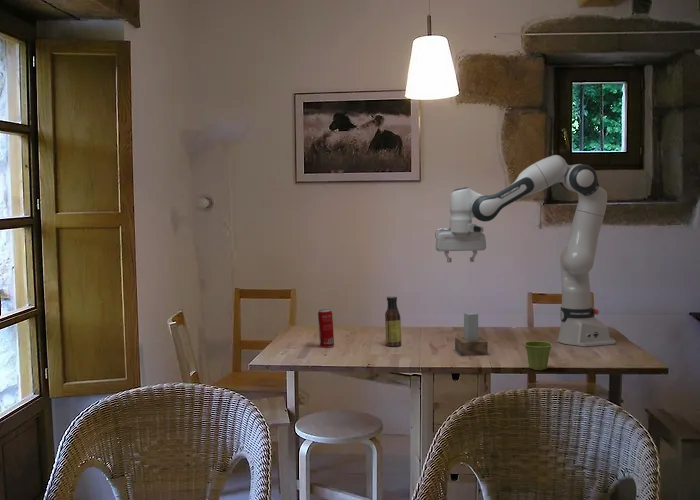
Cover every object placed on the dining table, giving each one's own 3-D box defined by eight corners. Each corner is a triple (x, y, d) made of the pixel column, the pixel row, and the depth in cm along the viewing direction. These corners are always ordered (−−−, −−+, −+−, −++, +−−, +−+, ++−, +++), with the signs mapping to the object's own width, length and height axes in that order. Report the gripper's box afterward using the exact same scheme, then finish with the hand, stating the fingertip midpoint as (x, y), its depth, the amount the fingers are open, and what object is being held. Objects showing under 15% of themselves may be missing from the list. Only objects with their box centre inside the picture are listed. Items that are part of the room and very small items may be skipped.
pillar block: (473, 338, 283) (473, 312, 282) (478, 340, 279) (478, 314, 278) (464, 338, 282) (464, 313, 281) (468, 340, 278) (468, 314, 277)
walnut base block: (480, 349, 286) (480, 336, 286) (487, 354, 276) (487, 341, 276) (455, 350, 285) (455, 337, 285) (461, 355, 275) (461, 342, 275)
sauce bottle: (404, 345, 297) (404, 296, 295) (394, 347, 292) (394, 298, 291) (392, 343, 301) (391, 295, 300) (382, 345, 297) (381, 296, 295)
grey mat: (482, 349, 287) (482, 348, 287) (490, 356, 275) (490, 355, 275) (451, 350, 286) (451, 349, 286) (459, 357, 274) (459, 356, 274)
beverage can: (336, 345, 298) (335, 309, 297) (329, 348, 292) (328, 311, 291) (323, 344, 301) (322, 308, 299) (316, 347, 295) (315, 310, 293)
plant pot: (552, 372, 251) (553, 347, 250) (524, 371, 253) (524, 346, 252) (551, 365, 260) (551, 341, 259) (523, 364, 262) (523, 340, 261)
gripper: (437, 228, 292) (437, 263, 294) (487, 227, 294) (487, 262, 296) (433, 228, 299) (433, 261, 300) (482, 227, 301) (482, 260, 302)
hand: (460, 262), depth 298 cm, fingers open, 8 cm apart
